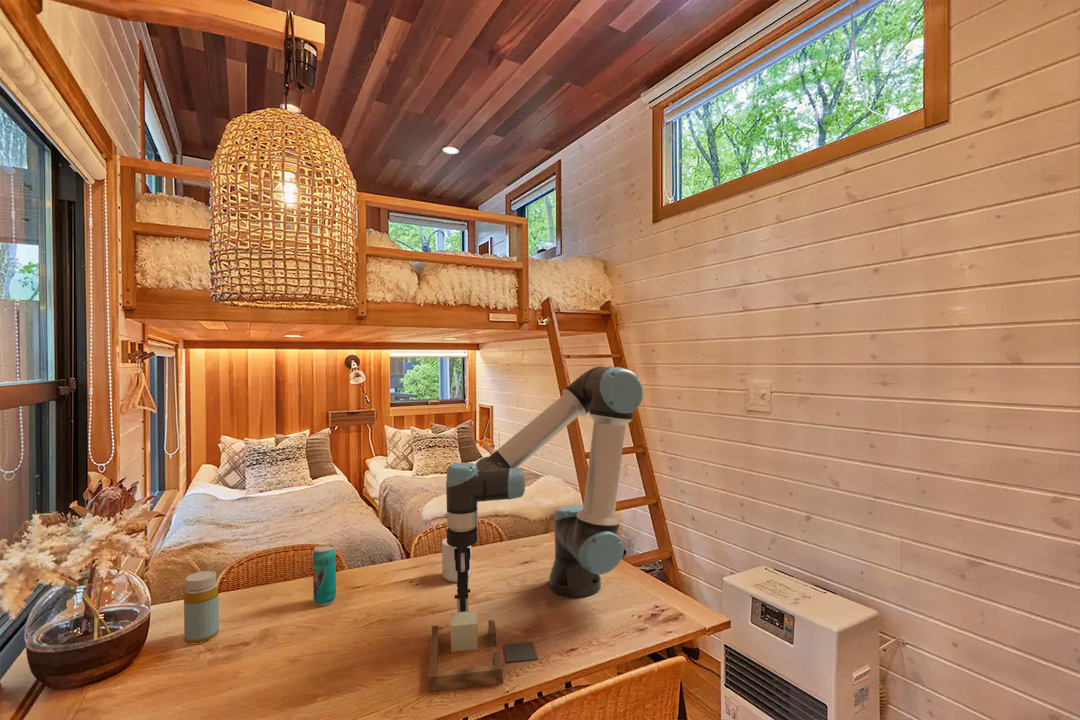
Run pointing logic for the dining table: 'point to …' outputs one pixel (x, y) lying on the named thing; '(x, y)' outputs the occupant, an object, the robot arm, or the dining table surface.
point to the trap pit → (520, 652)
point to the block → (463, 631)
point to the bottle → (201, 607)
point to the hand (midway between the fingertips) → (462, 621)
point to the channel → (464, 676)
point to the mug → (451, 562)
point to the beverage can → (324, 575)
